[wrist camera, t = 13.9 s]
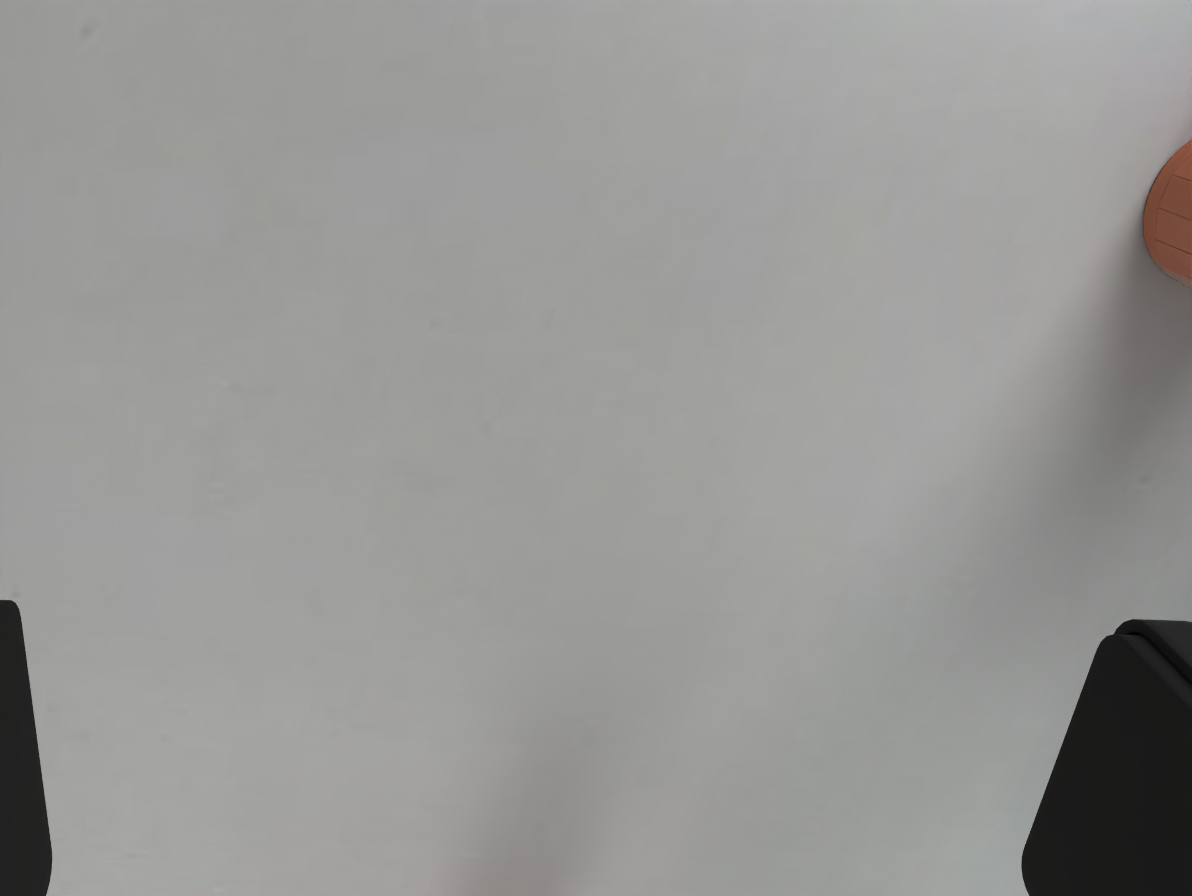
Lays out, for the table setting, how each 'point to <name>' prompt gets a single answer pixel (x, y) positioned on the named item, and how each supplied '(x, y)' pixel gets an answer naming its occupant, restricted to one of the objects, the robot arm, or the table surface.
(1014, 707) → the table surface
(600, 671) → the table surface
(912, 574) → the table surface
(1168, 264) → the cup
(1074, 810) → the robot arm
